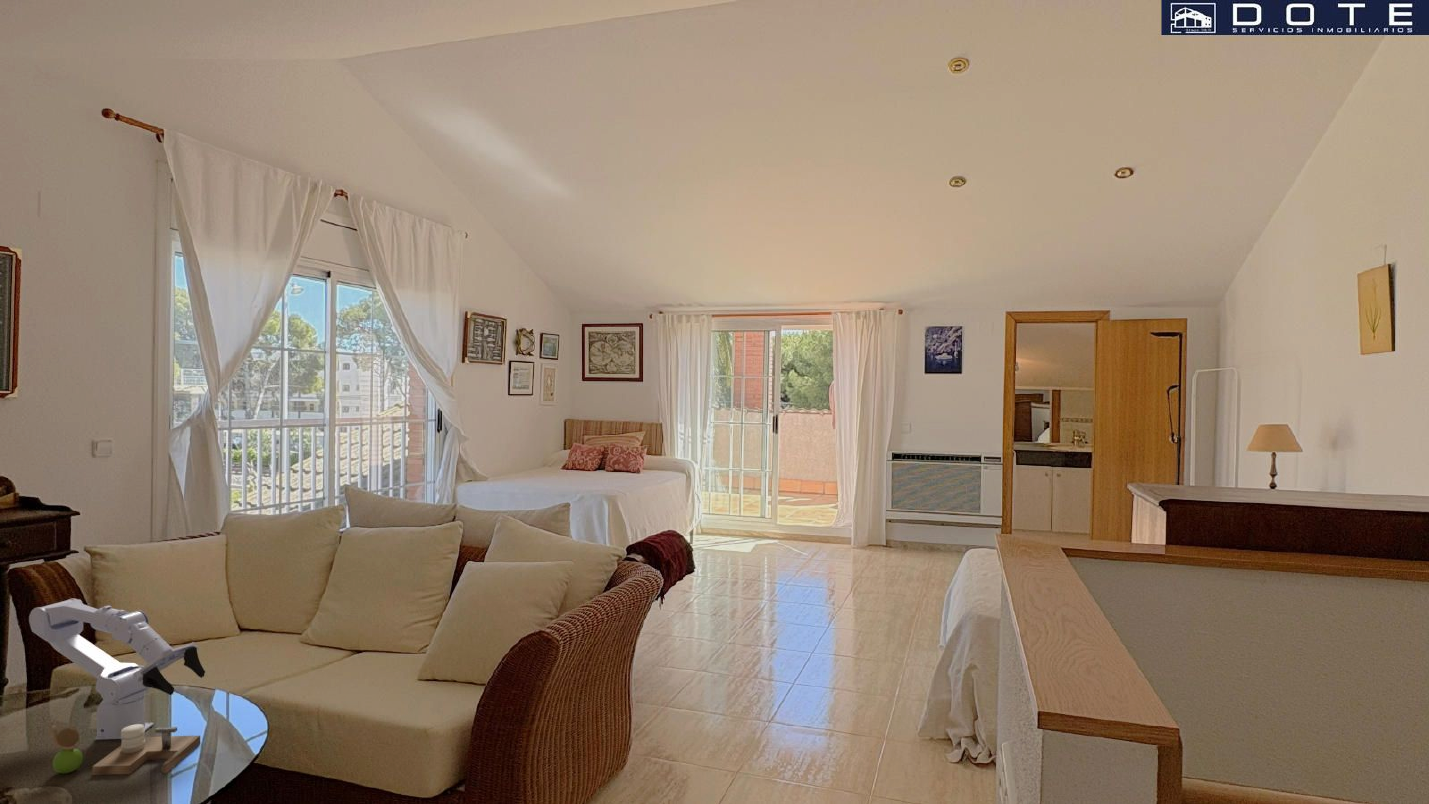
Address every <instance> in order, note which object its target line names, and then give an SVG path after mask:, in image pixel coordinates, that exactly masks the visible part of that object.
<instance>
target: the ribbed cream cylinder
mask: <svg viewBox="0 0 1429 804" xmlns="http://www.w3.org/2000/svg"><path fill="white" fill-rule="evenodd" d="M145 734H146V731H145V729H144V725H142V724H135V725H130V726H127V727H125V728H123V729H122V730H121V739H120V740H121V744H120V745H121V748H122V752H123V753H134V752H137V751H140V750H142V749H143V748H144V747H145V739H144V737H145Z"/></svg>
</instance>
